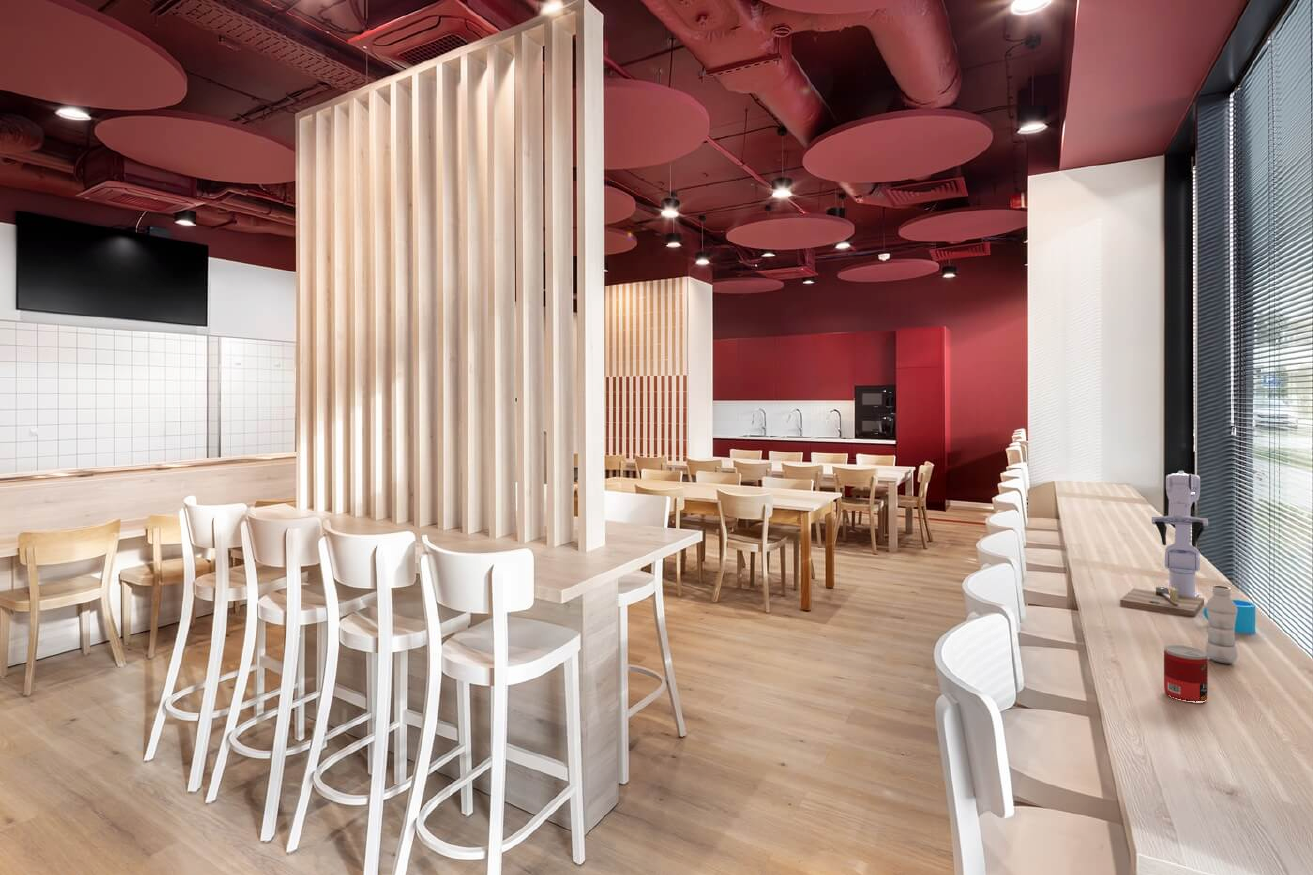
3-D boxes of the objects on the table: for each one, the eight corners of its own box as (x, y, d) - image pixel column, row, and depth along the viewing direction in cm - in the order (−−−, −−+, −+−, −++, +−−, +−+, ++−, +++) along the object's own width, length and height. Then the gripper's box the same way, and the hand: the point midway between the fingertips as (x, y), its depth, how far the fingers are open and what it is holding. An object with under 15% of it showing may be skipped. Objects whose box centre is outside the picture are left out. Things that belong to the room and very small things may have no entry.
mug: (1254, 628, 200) (1254, 601, 200) (1256, 635, 194) (1256, 608, 193) (1203, 621, 208) (1203, 595, 207) (1203, 628, 201) (1203, 601, 201)
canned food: (1210, 706, 149) (1210, 659, 148) (1166, 699, 153) (1166, 653, 153) (1204, 694, 155) (1204, 648, 155) (1162, 687, 159) (1162, 643, 159)
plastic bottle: (1229, 658, 177) (1229, 584, 176) (1242, 667, 170) (1243, 591, 170) (1200, 656, 179) (1200, 583, 178) (1212, 665, 172) (1212, 589, 172)
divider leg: (1154, 592, 233) (1154, 578, 233) (1166, 593, 232) (1166, 579, 232) (1170, 604, 219) (1170, 590, 218) (1183, 605, 217) (1183, 591, 217)
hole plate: (1133, 593, 240) (1133, 587, 240) (1204, 604, 225) (1204, 597, 225) (1120, 605, 226) (1120, 599, 226) (1194, 617, 212) (1194, 610, 212)
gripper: (1150, 501, 221) (1148, 538, 216) (1205, 501, 211) (1205, 541, 206) (1154, 510, 226) (1153, 546, 220) (1209, 511, 215) (1209, 549, 210)
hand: (1178, 544), depth 213 cm, fingers open, 7 cm apart
